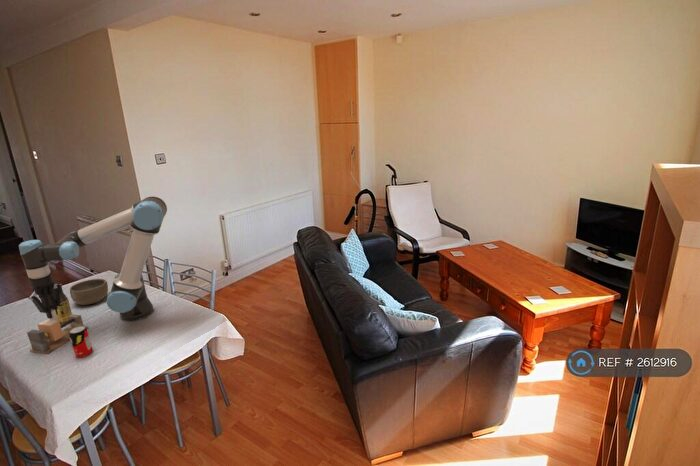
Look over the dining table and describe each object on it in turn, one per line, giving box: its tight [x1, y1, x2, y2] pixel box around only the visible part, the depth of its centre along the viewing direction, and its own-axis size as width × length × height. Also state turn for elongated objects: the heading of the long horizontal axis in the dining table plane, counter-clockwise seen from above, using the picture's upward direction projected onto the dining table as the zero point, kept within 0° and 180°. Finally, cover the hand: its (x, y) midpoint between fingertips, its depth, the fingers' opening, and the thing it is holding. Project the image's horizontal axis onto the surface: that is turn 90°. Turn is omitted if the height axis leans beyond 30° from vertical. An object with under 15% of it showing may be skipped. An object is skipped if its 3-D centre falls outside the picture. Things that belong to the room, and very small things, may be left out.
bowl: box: [69, 278, 109, 306], centre depth 201 cm, size 17×18×10 cm
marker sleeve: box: [37, 319, 63, 341], centre depth 163 cm, size 7×4×8 cm, turn 78°
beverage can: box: [69, 325, 93, 358], centre depth 155 cm, size 6×6×12 cm
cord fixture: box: [26, 313, 89, 355], centre depth 166 cm, size 20×10×10 cm, turn 168°
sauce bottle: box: [52, 283, 73, 325], centre depth 179 cm, size 6×6×20 cm
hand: (55, 323), depth 165 cm, fingers closed
